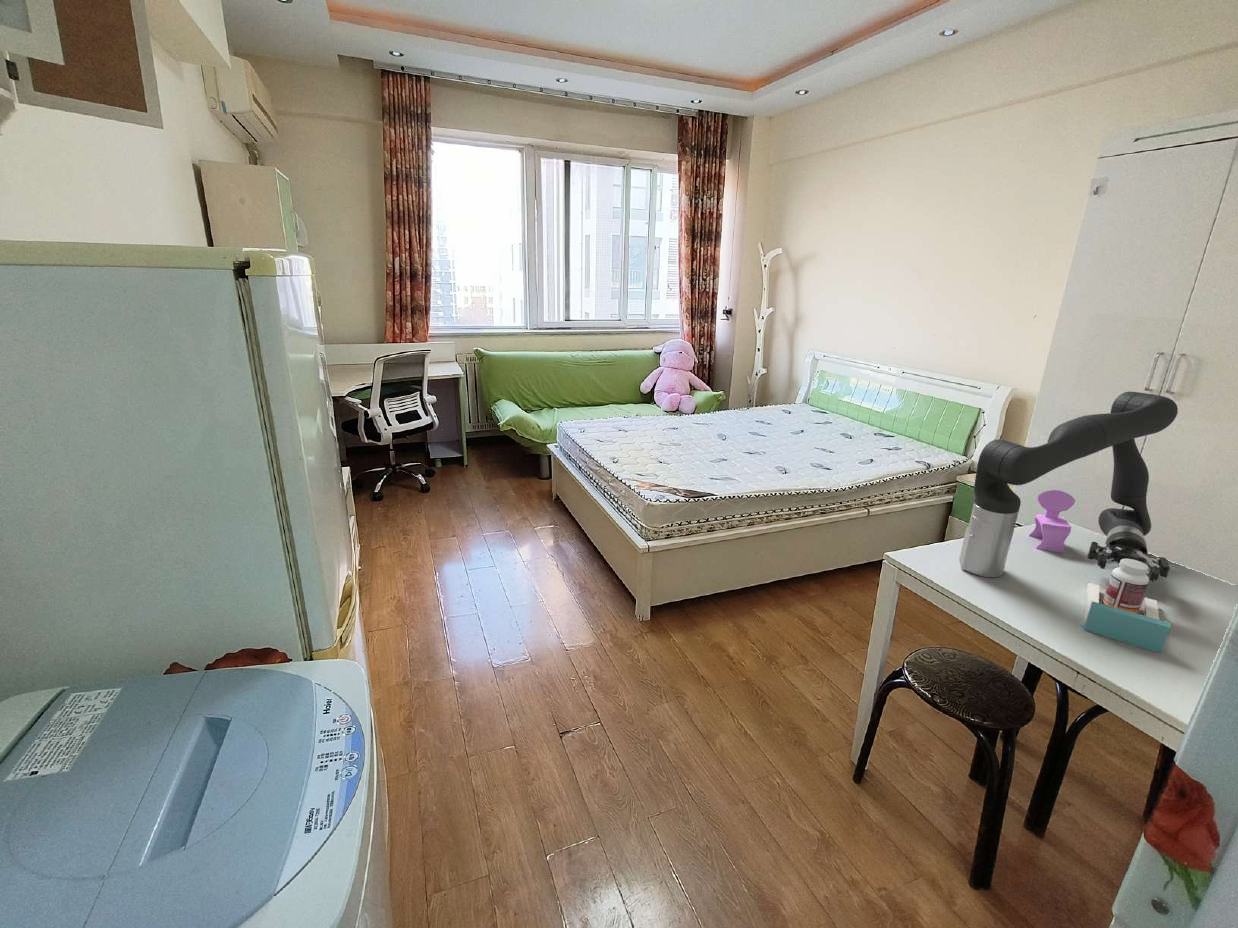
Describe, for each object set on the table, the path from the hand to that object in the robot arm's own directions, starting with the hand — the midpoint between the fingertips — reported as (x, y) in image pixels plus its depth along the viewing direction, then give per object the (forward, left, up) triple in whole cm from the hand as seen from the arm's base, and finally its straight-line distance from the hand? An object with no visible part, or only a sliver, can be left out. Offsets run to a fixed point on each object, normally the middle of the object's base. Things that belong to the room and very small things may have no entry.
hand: (1127, 571), depth 128 cm
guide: (-3, -9, -7) cm, 12 cm away
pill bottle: (-1, -5, -7) cm, 9 cm away
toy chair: (-9, +24, -7) cm, 26 cm away
